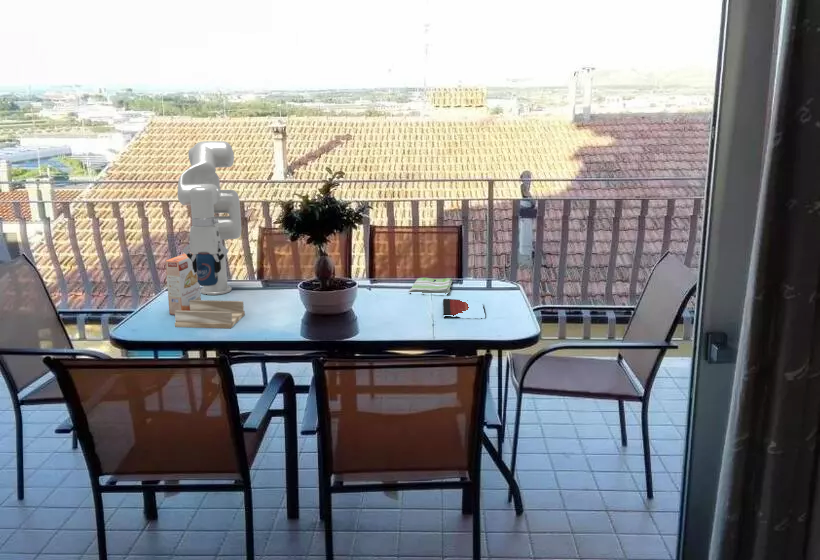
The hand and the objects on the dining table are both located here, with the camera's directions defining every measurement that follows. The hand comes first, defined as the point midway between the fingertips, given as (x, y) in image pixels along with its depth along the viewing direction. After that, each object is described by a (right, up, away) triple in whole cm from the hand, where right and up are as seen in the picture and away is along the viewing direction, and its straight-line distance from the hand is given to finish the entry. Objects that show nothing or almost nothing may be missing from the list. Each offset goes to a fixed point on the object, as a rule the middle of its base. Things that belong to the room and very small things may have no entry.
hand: (207, 271), depth 231 cm
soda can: (0, -5, +1) cm, 5 cm away
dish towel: (+82, -7, +50) cm, 96 cm away
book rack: (0, -18, +5) cm, 18 cm away
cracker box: (-13, -15, +17) cm, 26 cm away
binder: (+93, -16, +19) cm, 96 cm away
